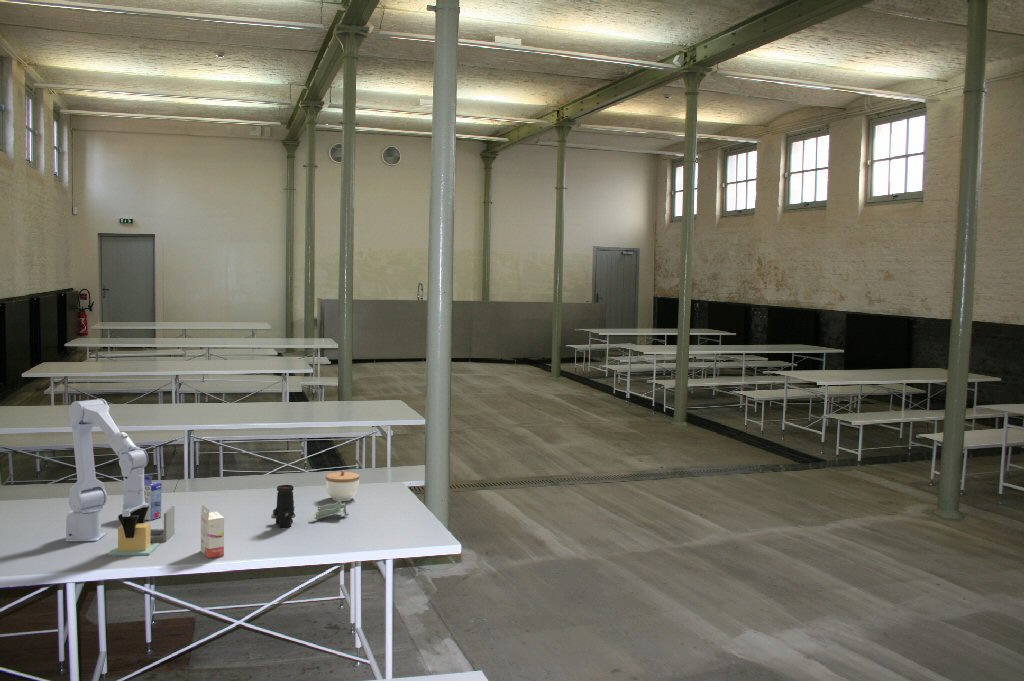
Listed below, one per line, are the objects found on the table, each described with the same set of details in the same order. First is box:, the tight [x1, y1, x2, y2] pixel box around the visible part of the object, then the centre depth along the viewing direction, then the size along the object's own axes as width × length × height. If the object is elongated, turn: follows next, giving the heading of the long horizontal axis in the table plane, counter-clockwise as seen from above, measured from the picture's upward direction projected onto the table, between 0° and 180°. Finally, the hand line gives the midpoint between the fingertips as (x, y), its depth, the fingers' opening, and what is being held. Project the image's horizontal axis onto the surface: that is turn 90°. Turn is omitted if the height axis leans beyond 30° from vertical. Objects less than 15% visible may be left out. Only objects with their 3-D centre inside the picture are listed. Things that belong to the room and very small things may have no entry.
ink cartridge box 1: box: [144, 474, 163, 521], centre depth 293 cm, size 10×6×14 cm, turn 71°
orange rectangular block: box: [117, 522, 151, 551], centre depth 257 cm, size 8×4×7 cm, turn 96°
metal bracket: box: [307, 501, 349, 524], centre depth 299 cm, size 14×6×15 cm
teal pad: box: [107, 542, 161, 557], centre depth 258 cm, size 12×10×1 cm
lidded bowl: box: [325, 469, 360, 502], centre depth 325 cm, size 13×13×11 cm
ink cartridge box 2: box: [200, 503, 225, 559], centre depth 256 cm, size 9×5×15 cm, turn 35°
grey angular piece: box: [150, 505, 175, 543], centre depth 270 cm, size 13×9×9 cm
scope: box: [270, 484, 296, 529], centre depth 287 cm, size 8×14×10 cm
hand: (133, 534), depth 257 cm, fingers open, 7 cm apart
